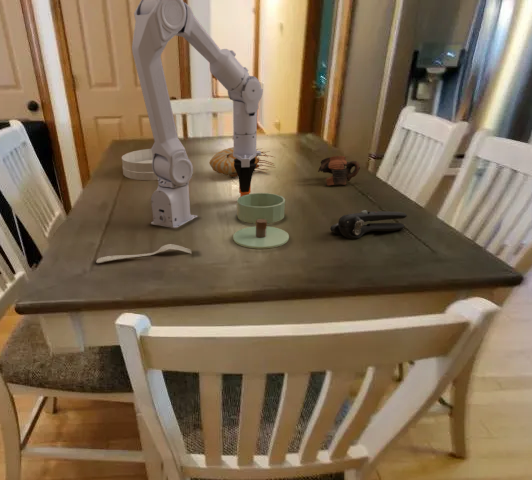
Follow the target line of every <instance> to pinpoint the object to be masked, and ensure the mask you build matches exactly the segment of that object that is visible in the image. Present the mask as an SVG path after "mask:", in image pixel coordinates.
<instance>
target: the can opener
mask: <svg viewBox="0 0 532 480" xmlns="http://www.w3.org/2000/svg"><path fill="white" fill-rule="evenodd" d="M407 217H408V215H407V214H406V213H405V212H402V211H385V210H383V211H382V210H380V211H379V210H375V211H368V210H365V209H364V210H361V211H360V212H355V213H347V214H343V215H342V216H341V217H340V218H339V219H338V222H337V223H335V224H332V225H331V226H330V228H329V230H330V231H331V232H332V233H334V234H336V235H338V236H343V237H344V238H347V239H351V240H357V239H359V238H361V237H362V236H363V235H364V234H366V233H369V232H396V231H400V230H403V229H404V228H406V226H405V224H404V223H402V222H379V221H389V220H403V219H406V218H407ZM366 222H371V223H366ZM373 222H374V223H373ZM375 222H376V223H375ZM365 223H366V224H365Z"/></svg>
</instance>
